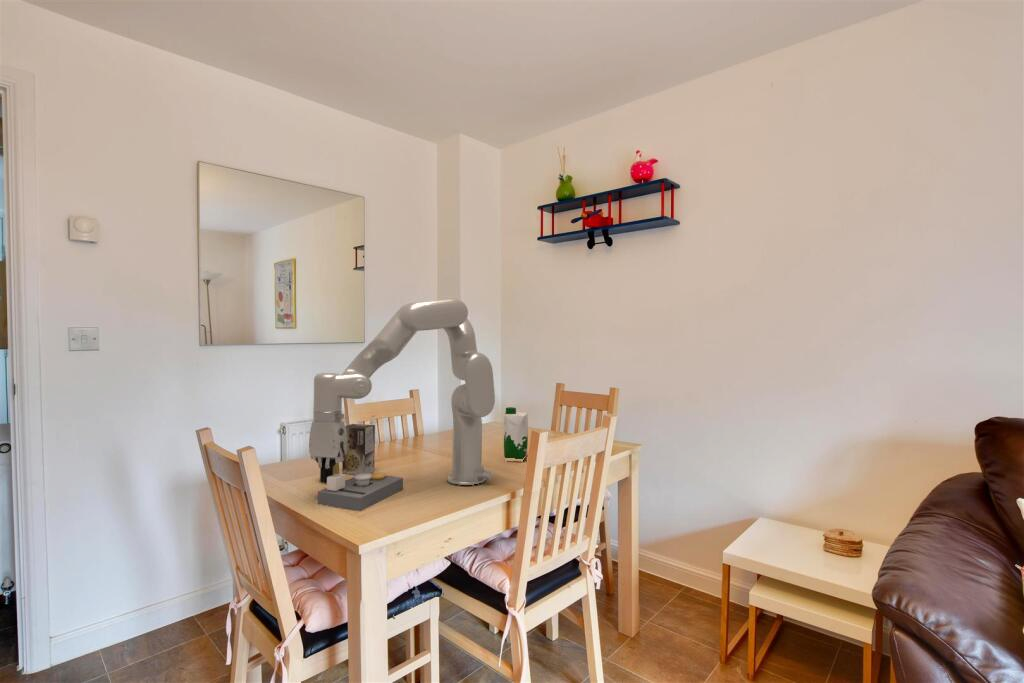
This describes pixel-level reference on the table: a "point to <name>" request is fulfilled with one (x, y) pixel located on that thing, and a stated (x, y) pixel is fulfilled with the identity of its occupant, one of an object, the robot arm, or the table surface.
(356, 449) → the coffee box
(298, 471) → the table surface
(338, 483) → the white block
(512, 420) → the milk carton
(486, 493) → the table surface
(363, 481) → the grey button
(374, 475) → the amber button
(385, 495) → the panel
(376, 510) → the table surface
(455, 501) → the table surface
